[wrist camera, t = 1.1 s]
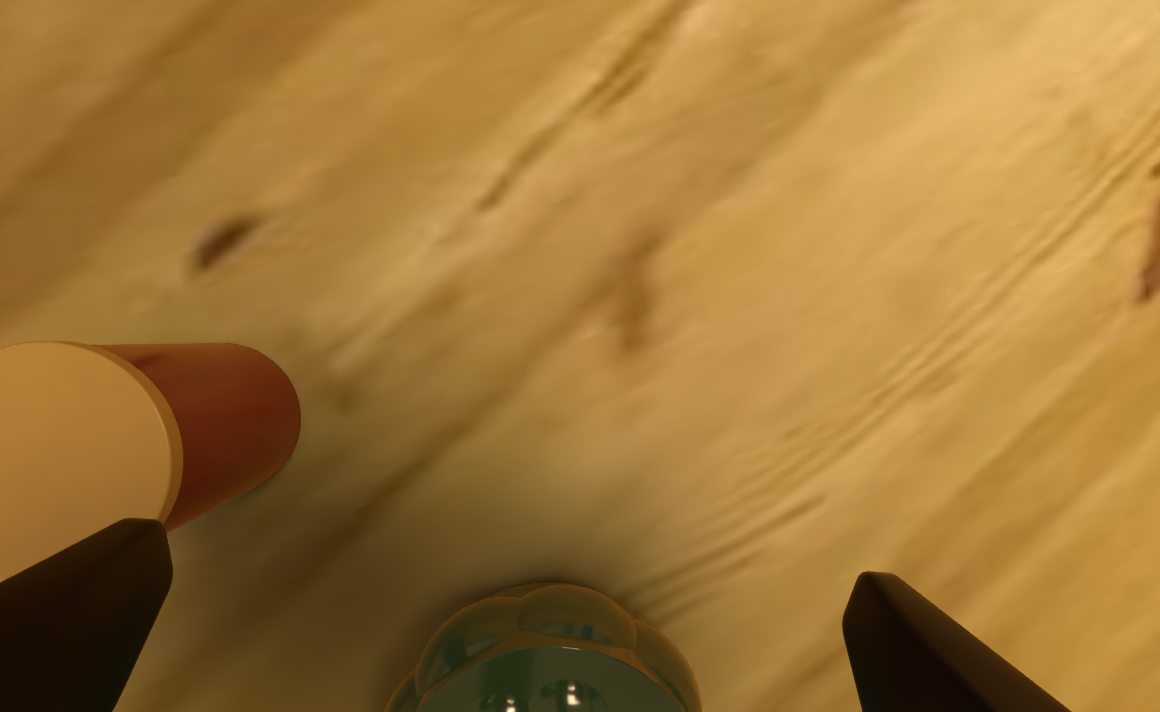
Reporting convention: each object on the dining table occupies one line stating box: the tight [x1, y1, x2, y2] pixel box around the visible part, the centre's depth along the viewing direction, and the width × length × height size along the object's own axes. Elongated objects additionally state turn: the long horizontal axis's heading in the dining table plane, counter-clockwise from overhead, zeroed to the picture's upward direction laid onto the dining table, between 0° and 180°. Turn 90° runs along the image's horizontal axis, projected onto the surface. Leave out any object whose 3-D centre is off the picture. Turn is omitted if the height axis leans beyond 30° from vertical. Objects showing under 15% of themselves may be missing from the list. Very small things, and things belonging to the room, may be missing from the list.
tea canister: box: [0, 341, 300, 579], centre depth 20 cm, size 6×6×9 cm
